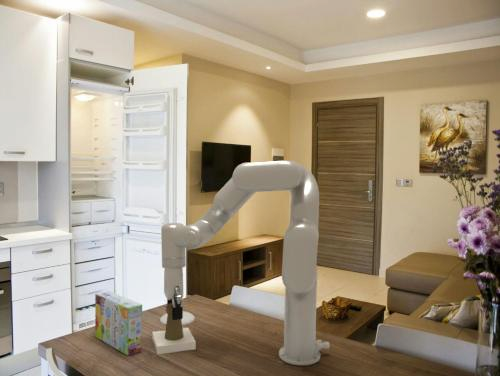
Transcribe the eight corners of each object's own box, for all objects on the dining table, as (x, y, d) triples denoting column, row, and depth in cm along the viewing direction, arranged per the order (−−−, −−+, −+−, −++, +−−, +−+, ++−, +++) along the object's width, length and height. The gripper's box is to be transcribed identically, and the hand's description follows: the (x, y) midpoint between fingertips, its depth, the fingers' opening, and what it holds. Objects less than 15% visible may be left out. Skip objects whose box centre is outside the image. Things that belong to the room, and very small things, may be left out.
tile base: (188, 334, 145) (188, 327, 145) (195, 349, 133) (195, 341, 133) (152, 339, 141) (152, 331, 141) (157, 354, 129) (157, 346, 129)
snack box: (143, 351, 132) (143, 303, 131) (127, 357, 128) (127, 308, 127) (109, 332, 146) (109, 289, 145) (94, 337, 142) (93, 293, 141)
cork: (179, 341, 133) (179, 307, 133) (161, 339, 134) (161, 305, 134) (186, 333, 139) (186, 301, 138) (168, 332, 140) (168, 299, 140)
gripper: (158, 257, 142) (159, 307, 143) (166, 268, 126) (167, 325, 127) (180, 255, 145) (181, 304, 146) (190, 266, 129) (191, 321, 130)
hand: (174, 314), depth 136 cm, fingers open, 9 cm apart
